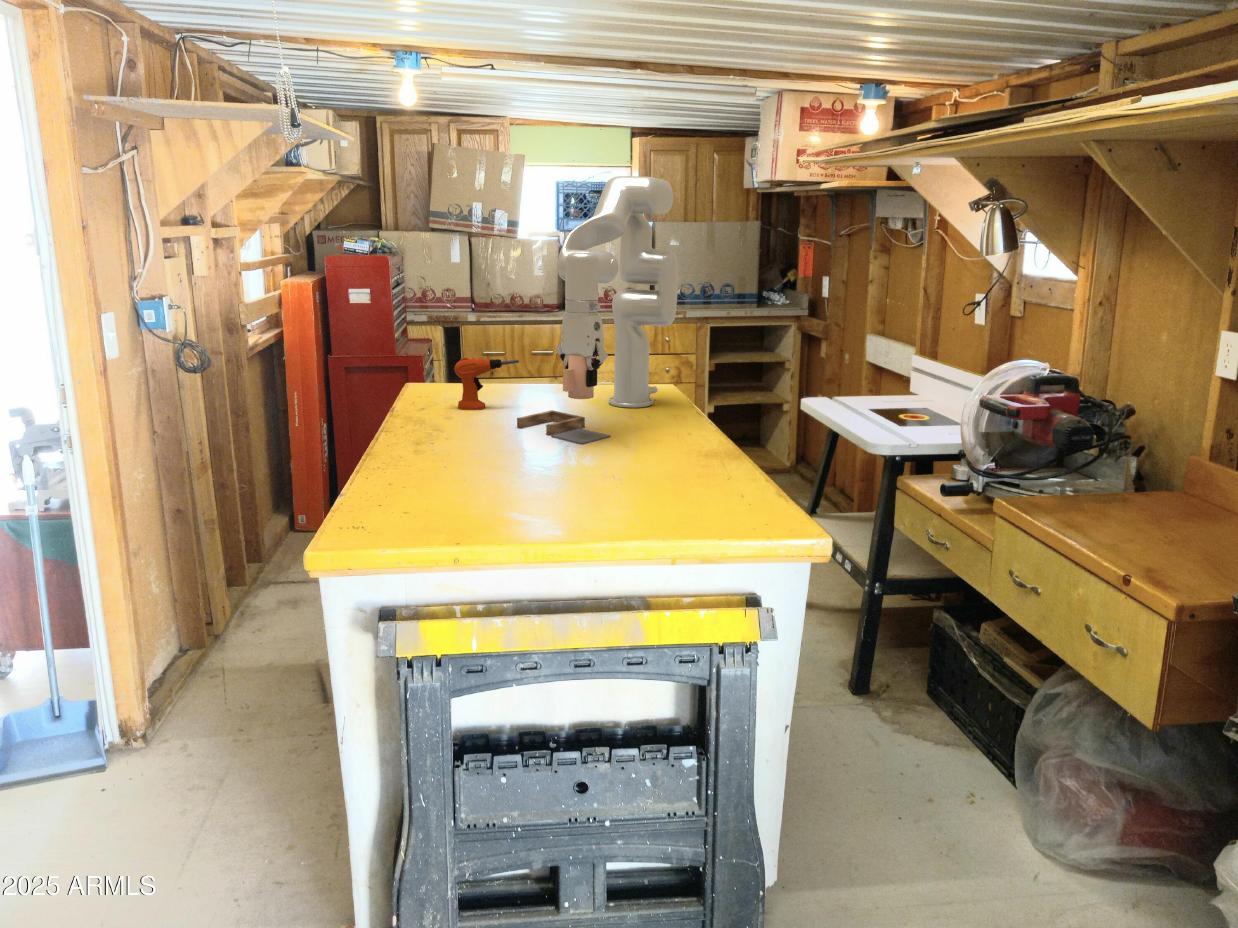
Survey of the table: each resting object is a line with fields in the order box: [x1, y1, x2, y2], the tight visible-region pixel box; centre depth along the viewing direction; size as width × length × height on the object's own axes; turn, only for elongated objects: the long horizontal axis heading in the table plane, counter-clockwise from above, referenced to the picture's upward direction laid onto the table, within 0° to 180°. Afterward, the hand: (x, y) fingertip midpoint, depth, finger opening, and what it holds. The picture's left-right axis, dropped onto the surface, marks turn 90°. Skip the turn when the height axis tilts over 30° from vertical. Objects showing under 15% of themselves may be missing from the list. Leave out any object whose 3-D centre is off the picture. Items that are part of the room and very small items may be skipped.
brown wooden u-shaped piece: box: [516, 409, 586, 436], centre depth 229 cm, size 12×11×2 cm
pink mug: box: [562, 354, 595, 400], centre depth 215 cm, size 8×6×10 cm
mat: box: [550, 428, 611, 445], centre depth 220 cm, size 10×10×1 cm
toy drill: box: [453, 356, 520, 411], centre depth 248 cm, size 5×18×14 cm, turn 96°
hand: (581, 383), depth 217 cm, fingers closed on pink mug, 6 cm apart
